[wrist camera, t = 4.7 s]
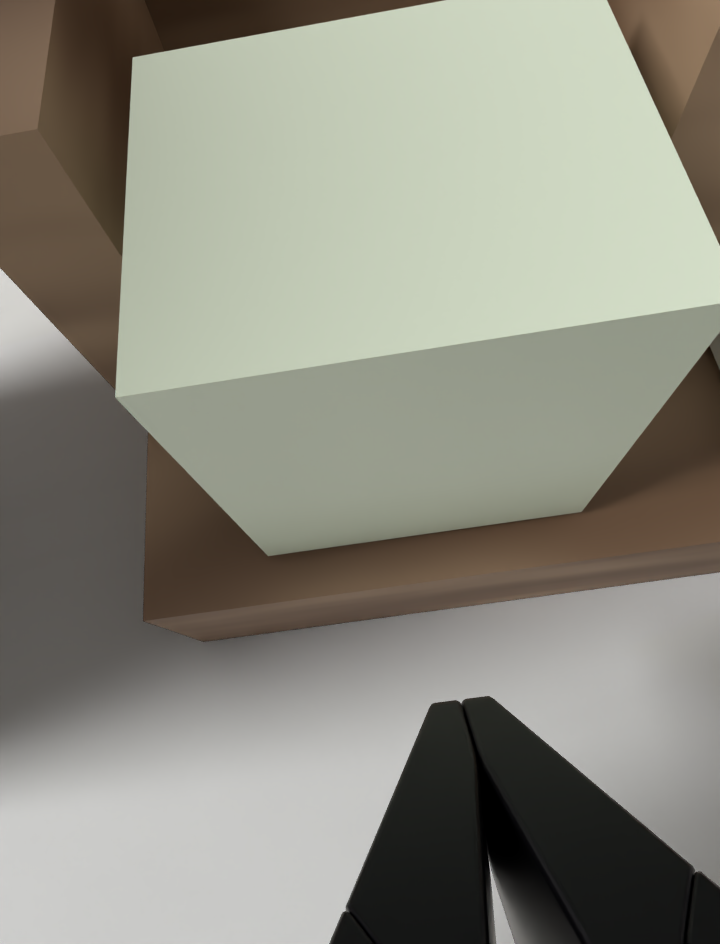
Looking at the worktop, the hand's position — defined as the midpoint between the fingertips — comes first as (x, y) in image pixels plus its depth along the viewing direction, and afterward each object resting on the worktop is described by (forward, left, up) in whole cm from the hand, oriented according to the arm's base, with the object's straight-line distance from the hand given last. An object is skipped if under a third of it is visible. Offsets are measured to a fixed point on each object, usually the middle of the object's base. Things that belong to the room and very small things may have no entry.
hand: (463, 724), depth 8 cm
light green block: (+4, -5, -4) cm, 8 cm away
